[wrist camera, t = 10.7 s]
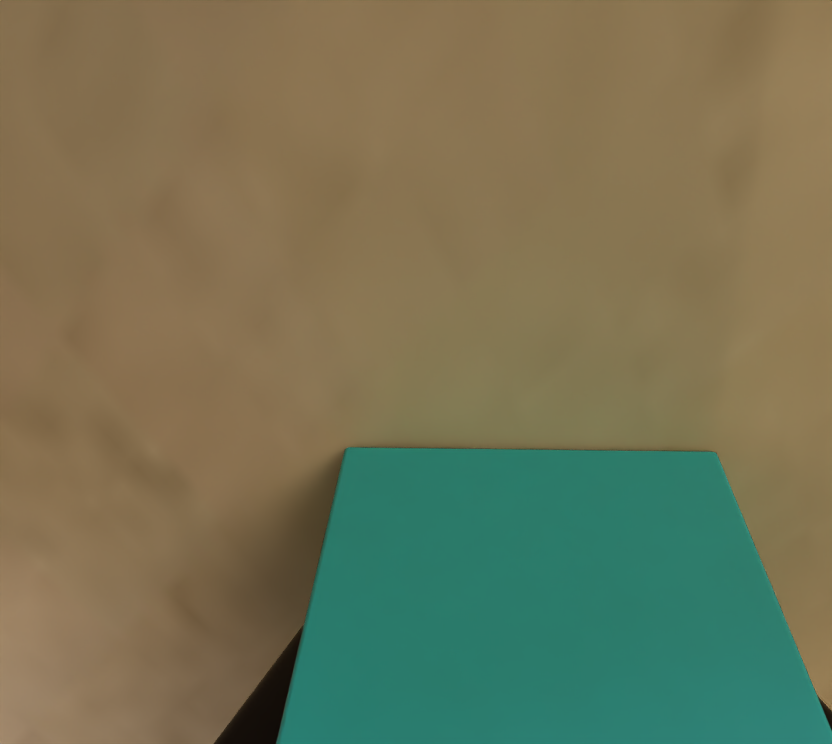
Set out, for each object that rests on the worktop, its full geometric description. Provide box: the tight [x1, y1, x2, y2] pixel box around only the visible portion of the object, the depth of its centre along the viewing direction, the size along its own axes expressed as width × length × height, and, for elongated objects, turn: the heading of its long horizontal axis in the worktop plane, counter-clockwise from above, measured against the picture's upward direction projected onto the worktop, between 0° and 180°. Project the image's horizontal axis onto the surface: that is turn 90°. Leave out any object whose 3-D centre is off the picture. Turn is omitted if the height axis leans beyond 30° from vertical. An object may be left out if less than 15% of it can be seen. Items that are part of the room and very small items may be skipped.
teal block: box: [276, 447, 832, 744], centre depth 8 cm, size 4×4×4 cm
